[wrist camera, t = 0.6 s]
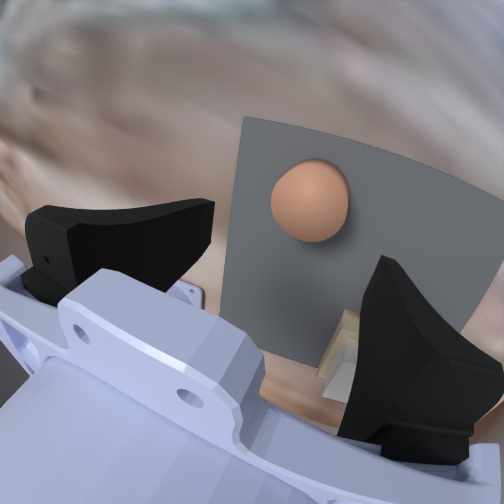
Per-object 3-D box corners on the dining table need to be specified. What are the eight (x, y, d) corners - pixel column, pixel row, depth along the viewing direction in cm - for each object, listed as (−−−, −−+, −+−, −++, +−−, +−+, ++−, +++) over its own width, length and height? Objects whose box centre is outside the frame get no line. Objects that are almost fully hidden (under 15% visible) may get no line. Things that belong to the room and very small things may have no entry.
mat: (219, 330, 30) (217, 332, 29) (245, 116, 19) (243, 116, 18) (411, 389, 25) (411, 392, 24) (521, 211, 14) (523, 213, 13)
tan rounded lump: (279, 211, 21) (265, 229, 18) (291, 151, 18) (277, 159, 16) (339, 229, 20) (335, 251, 17) (356, 168, 17) (356, 180, 15)
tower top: (326, 374, 23) (321, 396, 21) (347, 337, 21) (343, 361, 19) (376, 387, 22) (374, 409, 20) (402, 353, 20) (403, 377, 18)
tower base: (321, 357, 26) (316, 376, 24) (344, 308, 23) (341, 328, 21) (381, 374, 24) (379, 393, 22) (412, 329, 21) (414, 349, 19)
